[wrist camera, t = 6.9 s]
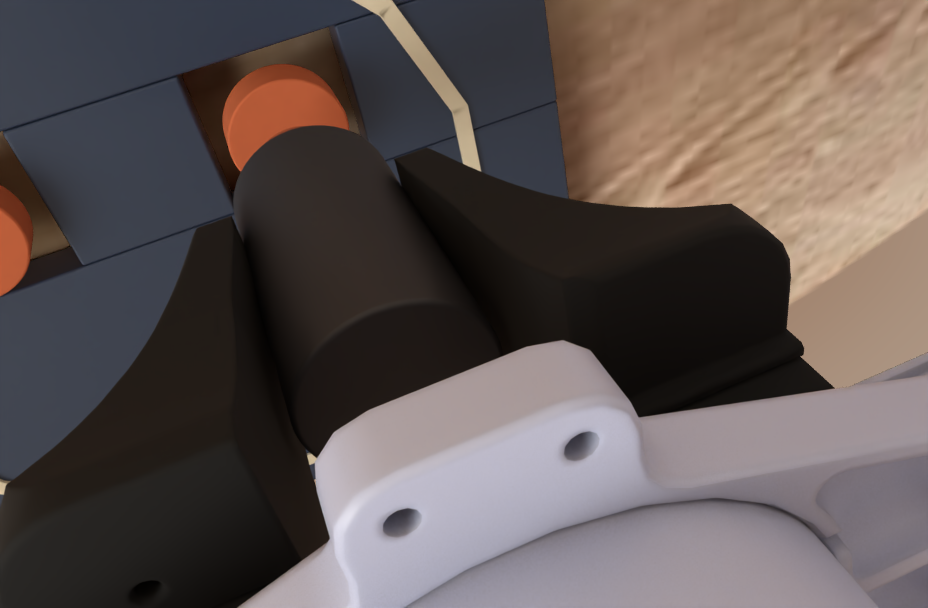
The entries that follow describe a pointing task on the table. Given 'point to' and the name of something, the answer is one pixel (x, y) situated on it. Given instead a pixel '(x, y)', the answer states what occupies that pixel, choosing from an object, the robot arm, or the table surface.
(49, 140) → the face board
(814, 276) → the table surface
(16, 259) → the eye
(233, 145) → the eye
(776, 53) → the table surface
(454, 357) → the marker
